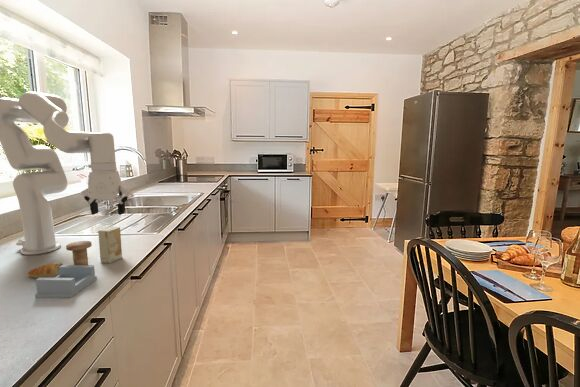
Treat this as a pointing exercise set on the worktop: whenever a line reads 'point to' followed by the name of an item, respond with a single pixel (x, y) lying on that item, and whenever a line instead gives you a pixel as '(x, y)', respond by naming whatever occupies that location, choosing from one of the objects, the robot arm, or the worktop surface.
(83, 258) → the wooden mushroom
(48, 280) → the grey rectangular frame
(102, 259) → the skincare box
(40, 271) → the pastry
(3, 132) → the robot arm
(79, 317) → the worktop surface
